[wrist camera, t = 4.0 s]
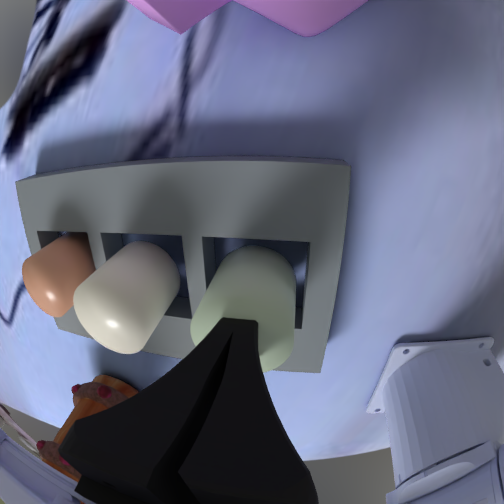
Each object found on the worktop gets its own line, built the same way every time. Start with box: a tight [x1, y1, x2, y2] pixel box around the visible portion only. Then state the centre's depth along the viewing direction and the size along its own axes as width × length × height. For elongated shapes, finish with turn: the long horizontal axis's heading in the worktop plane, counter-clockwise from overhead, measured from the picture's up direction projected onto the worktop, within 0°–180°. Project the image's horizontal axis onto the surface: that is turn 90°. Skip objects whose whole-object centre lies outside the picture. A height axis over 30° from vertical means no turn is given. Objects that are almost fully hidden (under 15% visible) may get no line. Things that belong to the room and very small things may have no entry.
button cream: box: [73, 241, 181, 354], centre depth 13 cm, size 4×4×4 cm
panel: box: [15, 156, 351, 373], centre depth 16 cm, size 20×12×2 cm, turn 91°
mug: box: [36, 375, 139, 504], centre depth 19 cm, size 15×8×15 cm, turn 167°
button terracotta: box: [22, 232, 96, 317], centre depth 15 cm, size 4×4×4 cm
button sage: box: [190, 246, 296, 373], centre depth 13 cm, size 4×4×4 cm
